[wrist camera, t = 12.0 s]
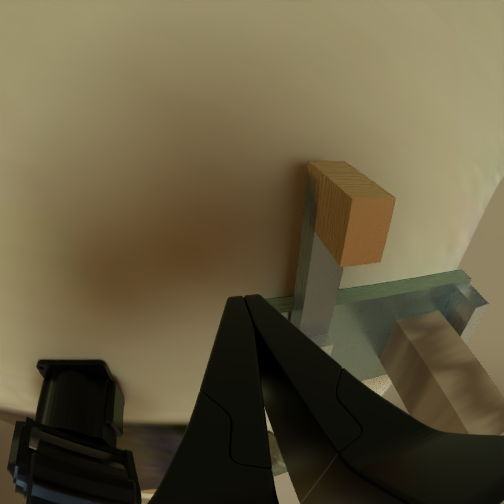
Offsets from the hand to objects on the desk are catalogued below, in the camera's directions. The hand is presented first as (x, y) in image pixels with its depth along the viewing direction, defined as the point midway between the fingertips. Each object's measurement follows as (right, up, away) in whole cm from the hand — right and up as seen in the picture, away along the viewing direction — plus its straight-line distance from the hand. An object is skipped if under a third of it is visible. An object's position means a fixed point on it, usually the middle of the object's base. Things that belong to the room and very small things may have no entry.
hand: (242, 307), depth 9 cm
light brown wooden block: (+4, -3, +12) cm, 13 cm away
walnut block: (+14, -6, +17) cm, 23 cm away
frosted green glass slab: (+10, -6, +18) cm, 21 cm away
